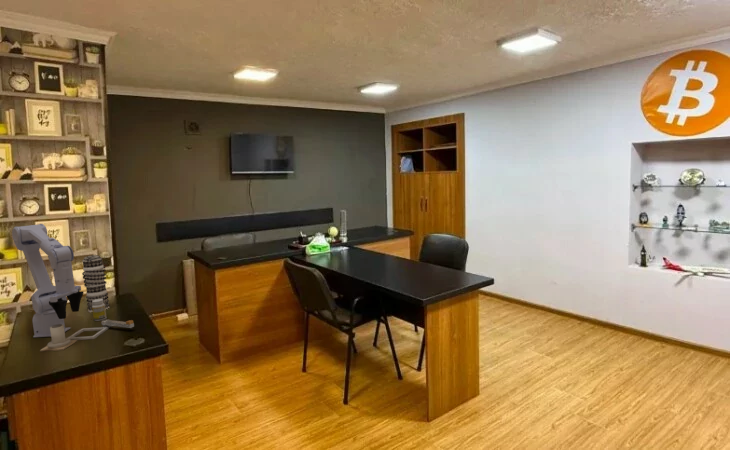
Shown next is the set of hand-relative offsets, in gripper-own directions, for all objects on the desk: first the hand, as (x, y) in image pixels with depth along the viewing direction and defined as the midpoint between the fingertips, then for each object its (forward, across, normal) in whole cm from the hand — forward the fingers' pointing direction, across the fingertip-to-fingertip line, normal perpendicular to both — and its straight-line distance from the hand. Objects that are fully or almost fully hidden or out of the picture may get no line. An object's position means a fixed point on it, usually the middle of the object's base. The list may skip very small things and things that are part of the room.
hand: (69, 314), depth 158 cm
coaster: (+10, -5, +2) cm, 11 cm away
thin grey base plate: (+10, +12, -6) cm, 16 cm away
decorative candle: (+10, +37, +11) cm, 40 cm away
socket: (+10, +5, -3) cm, 11 cm away
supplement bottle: (+10, +23, +3) cm, 25 cm away
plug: (+9, -5, +1) cm, 11 cm away
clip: (+8, +9, -12) cm, 17 cm away
